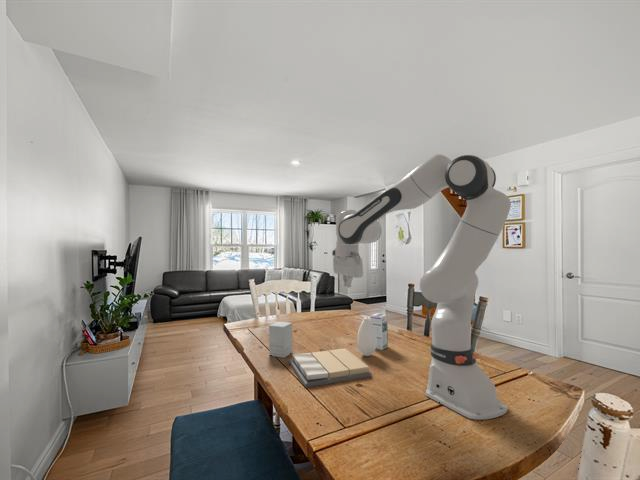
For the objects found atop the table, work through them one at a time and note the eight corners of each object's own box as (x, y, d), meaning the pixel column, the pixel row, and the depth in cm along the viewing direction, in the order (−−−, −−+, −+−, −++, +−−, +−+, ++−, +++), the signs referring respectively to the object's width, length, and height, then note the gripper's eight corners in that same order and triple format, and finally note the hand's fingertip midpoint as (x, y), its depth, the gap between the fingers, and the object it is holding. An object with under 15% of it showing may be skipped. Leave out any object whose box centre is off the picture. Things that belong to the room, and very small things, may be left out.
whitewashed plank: (328, 377, 100) (328, 373, 100) (307, 380, 97) (307, 375, 97) (309, 356, 119) (310, 352, 119) (292, 358, 116) (292, 354, 116)
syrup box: (382, 350, 130) (382, 316, 130) (370, 347, 133) (370, 314, 133) (388, 346, 134) (387, 314, 134) (376, 344, 138) (375, 312, 138)
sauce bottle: (354, 357, 122) (354, 312, 122) (361, 351, 129) (360, 309, 129) (373, 360, 118) (372, 314, 119) (378, 354, 125) (378, 310, 126)
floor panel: (371, 376, 104) (371, 367, 104) (305, 387, 96) (305, 378, 96) (345, 354, 125) (345, 347, 125) (288, 362, 117) (288, 354, 117)
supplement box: (293, 352, 128) (292, 322, 128) (283, 358, 121) (283, 327, 121) (278, 350, 131) (278, 320, 131) (268, 355, 124) (268, 325, 124)
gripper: (367, 252, 110) (367, 290, 109) (344, 251, 129) (344, 283, 129) (351, 252, 107) (351, 291, 107) (330, 251, 127) (330, 284, 126)
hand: (347, 287), depth 118 cm, fingers closed
